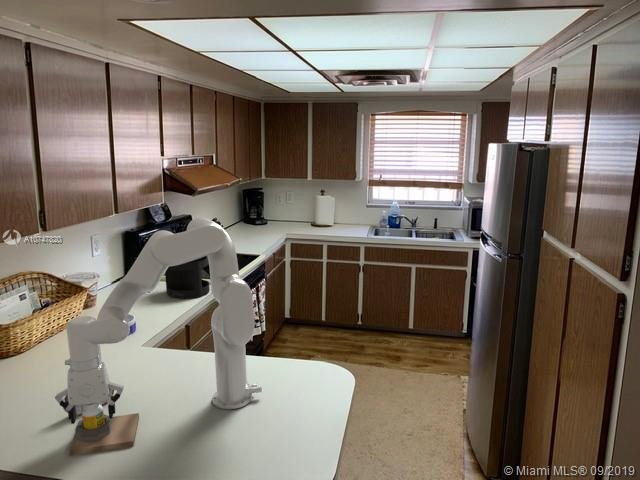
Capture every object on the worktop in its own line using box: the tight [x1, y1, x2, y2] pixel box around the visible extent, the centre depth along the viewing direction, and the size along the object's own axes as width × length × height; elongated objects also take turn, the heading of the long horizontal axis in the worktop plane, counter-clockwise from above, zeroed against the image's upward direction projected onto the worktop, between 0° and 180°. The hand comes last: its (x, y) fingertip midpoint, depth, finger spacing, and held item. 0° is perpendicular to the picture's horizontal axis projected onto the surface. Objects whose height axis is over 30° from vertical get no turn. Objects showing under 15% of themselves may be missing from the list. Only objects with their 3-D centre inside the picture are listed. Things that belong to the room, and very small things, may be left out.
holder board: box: [68, 412, 140, 457], centre depth 134 cm, size 16×14×4 cm
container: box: [164, 256, 211, 299], centre depth 258 cm, size 22×23×25 cm
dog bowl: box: [126, 313, 137, 337], centre depth 207 cm, size 15×15×6 cm
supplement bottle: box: [81, 403, 105, 430], centre depth 133 cm, size 5×5×10 cm
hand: (93, 418), depth 133 cm, fingers open, 9 cm apart
